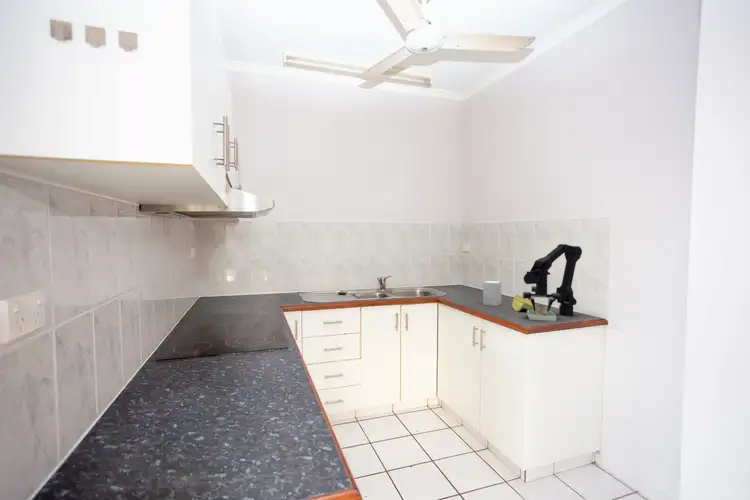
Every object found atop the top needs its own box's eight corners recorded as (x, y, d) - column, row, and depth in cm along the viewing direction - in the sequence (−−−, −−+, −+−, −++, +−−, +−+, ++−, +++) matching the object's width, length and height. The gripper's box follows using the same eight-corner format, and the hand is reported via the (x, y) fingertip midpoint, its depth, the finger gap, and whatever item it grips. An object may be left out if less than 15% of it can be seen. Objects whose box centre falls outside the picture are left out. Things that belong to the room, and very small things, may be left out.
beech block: (544, 316, 204) (545, 305, 204) (546, 318, 200) (546, 307, 200) (536, 316, 205) (536, 305, 205) (537, 317, 201) (537, 306, 201)
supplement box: (501, 304, 241) (501, 281, 241) (496, 306, 235) (496, 283, 234) (488, 302, 247) (488, 280, 247) (482, 304, 240) (482, 281, 240)
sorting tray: (552, 315, 207) (552, 311, 207) (556, 321, 195) (556, 316, 194) (527, 314, 211) (527, 310, 211) (529, 319, 198) (529, 315, 198)
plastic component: (538, 308, 216) (522, 301, 216) (532, 319, 217) (516, 312, 218) (528, 300, 235) (514, 293, 236) (523, 310, 236) (508, 303, 237)
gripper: (557, 281, 207) (557, 309, 208) (521, 280, 212) (521, 307, 213) (561, 284, 196) (561, 313, 197) (523, 283, 201) (523, 311, 202)
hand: (541, 311), depth 203 cm, fingers open, 6 cm apart
